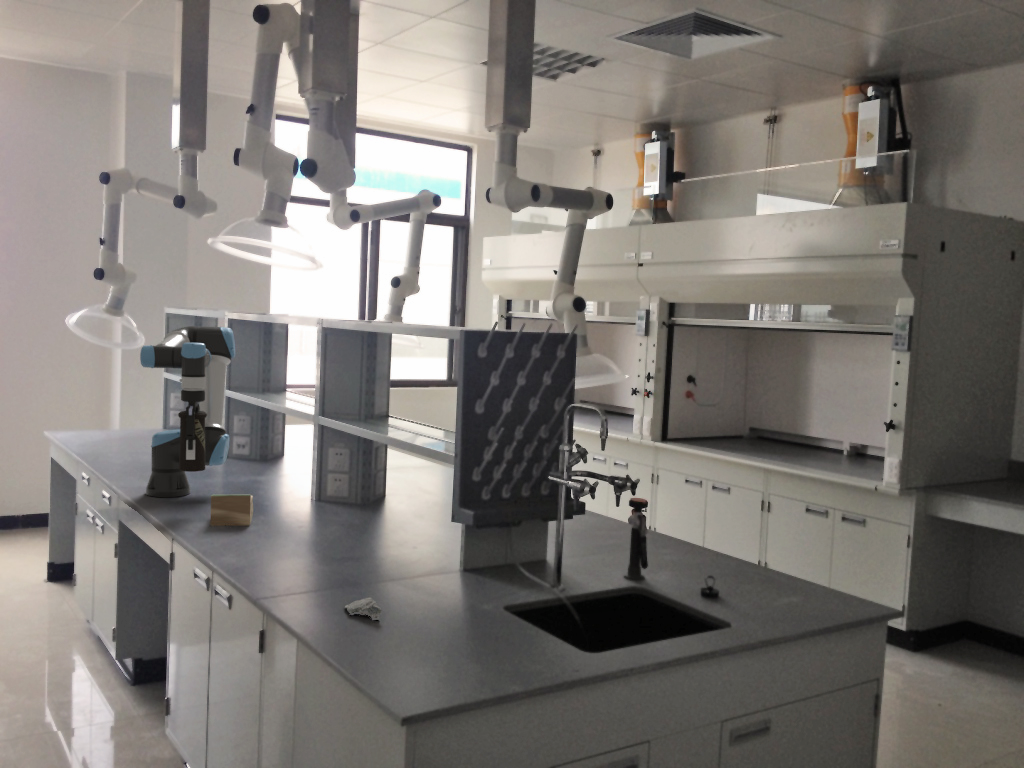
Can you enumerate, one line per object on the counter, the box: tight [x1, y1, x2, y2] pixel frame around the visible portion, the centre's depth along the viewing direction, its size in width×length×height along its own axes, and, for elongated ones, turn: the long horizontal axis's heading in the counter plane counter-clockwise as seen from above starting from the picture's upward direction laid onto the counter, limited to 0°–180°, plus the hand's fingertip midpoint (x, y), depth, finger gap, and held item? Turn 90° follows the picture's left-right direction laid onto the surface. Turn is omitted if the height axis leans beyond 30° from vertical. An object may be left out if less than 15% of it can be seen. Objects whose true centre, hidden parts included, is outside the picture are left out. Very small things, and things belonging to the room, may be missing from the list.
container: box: [177, 410, 207, 473], centre depth 298 cm, size 9×9×20 cm
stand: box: [210, 493, 254, 527], centre depth 293 cm, size 17×12×10 cm
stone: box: [344, 596, 382, 619], centre depth 206 cm, size 6×12×4 cm, turn 24°
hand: (192, 457), depth 298 cm, fingers closed on container, 8 cm apart
